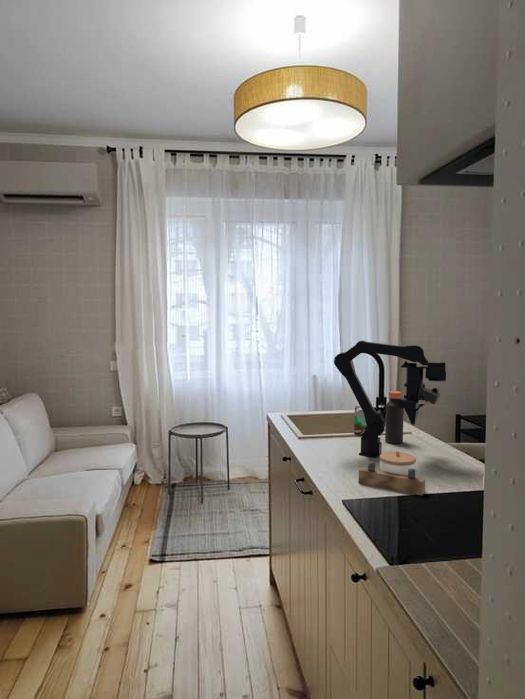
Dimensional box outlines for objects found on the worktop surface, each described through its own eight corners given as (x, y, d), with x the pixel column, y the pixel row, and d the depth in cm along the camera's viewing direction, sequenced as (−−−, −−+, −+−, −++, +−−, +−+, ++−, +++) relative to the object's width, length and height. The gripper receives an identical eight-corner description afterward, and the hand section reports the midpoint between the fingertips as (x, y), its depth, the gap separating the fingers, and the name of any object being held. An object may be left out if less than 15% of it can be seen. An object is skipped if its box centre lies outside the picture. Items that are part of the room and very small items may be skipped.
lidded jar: (373, 482, 152) (374, 452, 152) (387, 473, 161) (387, 444, 160) (407, 490, 146) (408, 458, 145) (420, 480, 155) (421, 450, 154)
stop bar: (358, 482, 152) (358, 461, 152) (362, 479, 155) (362, 459, 154) (421, 495, 142) (422, 473, 142) (424, 492, 145) (425, 470, 144)
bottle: (381, 441, 200) (382, 391, 198) (395, 439, 203) (396, 390, 201) (392, 445, 194) (394, 394, 192) (406, 443, 197) (407, 392, 195)
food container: (368, 435, 208) (369, 412, 208) (353, 434, 210) (354, 411, 209) (368, 428, 221) (369, 406, 220) (354, 428, 222) (354, 405, 221)
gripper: (431, 386, 163) (429, 433, 165) (444, 379, 179) (443, 422, 180) (397, 383, 169) (396, 428, 171) (413, 376, 185) (412, 418, 186)
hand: (413, 424), depth 177 cm, fingers closed
